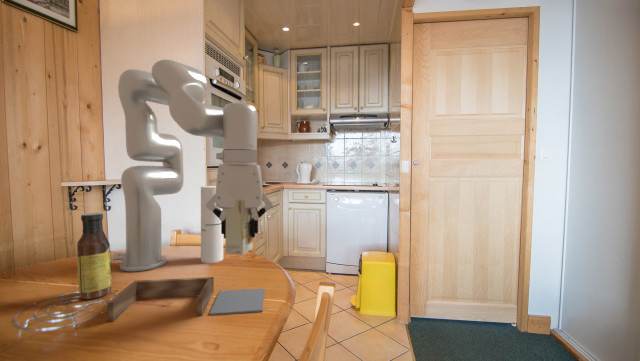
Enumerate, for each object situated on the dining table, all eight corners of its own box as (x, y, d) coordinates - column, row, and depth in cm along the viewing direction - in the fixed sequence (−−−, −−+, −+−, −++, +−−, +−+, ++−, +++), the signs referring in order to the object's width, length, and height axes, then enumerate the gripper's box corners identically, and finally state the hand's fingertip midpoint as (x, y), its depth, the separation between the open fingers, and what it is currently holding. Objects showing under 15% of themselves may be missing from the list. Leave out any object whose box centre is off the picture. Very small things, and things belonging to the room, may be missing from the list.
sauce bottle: (117, 291, 69) (116, 212, 68) (89, 302, 63) (88, 216, 62) (99, 287, 71) (98, 211, 70) (71, 298, 65) (69, 214, 64)
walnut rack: (107, 321, 55) (107, 302, 55) (135, 297, 66) (134, 280, 66) (202, 315, 58) (202, 297, 58) (213, 292, 69) (213, 277, 69)
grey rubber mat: (209, 315, 59) (209, 313, 59) (219, 292, 69) (219, 290, 69) (262, 311, 60) (262, 309, 60) (264, 290, 71) (264, 288, 71)
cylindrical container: (218, 263, 91) (218, 187, 90) (197, 262, 91) (196, 187, 90) (226, 256, 98) (226, 186, 97) (206, 256, 98) (206, 185, 97)
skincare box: (243, 255, 61) (243, 200, 60) (224, 254, 61) (224, 200, 61) (254, 247, 67) (254, 197, 67) (237, 246, 68) (237, 197, 67)
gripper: (196, 157, 59) (196, 241, 59) (277, 158, 61) (277, 239, 62) (205, 158, 66) (205, 233, 67) (277, 160, 69) (277, 232, 69)
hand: (240, 235), depth 64 cm, fingers closed on skincare box, 5 cm apart
